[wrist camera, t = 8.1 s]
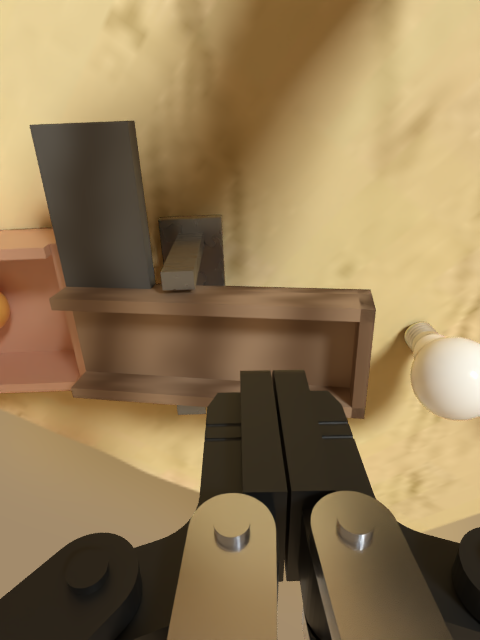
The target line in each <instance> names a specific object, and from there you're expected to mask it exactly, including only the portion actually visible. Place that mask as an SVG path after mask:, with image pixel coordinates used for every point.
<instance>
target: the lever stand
mask: <svg viewBox="0 0 480 640" xmlns="http://www.w3.org/2000/svg"><path fill="white" fill-rule="evenodd" d="M158 222H159V230H160V238H161V247H162V255H163V264H164V265H163V268H162V270H161V272H160V273H161V281H162V289H163V290H188V289H195V286H196V285H208V286H225V271H224V254H223V236H222V218H221V215H207V216H182V217H160V218H159V220H158ZM177 411H178V415H187V414H206V407H197V406H183V405H177Z"/></svg>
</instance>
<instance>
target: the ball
mask: <svg viewBox="0 0 480 640" xmlns="http://www.w3.org/2000/svg"><path fill="white" fill-rule="evenodd" d="M9 315H10V305H9V302H8V300H7V298H6V297H5V296H4V295H3V294H2V293H1V292H0V328H2V327H3V326H4V325H5V324H6V322H7V320H8V318H9Z"/></svg>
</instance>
